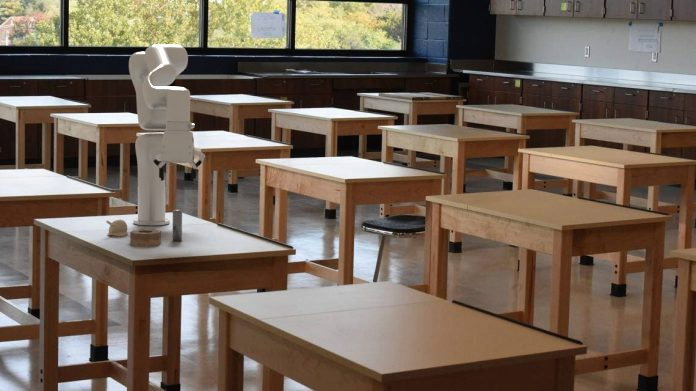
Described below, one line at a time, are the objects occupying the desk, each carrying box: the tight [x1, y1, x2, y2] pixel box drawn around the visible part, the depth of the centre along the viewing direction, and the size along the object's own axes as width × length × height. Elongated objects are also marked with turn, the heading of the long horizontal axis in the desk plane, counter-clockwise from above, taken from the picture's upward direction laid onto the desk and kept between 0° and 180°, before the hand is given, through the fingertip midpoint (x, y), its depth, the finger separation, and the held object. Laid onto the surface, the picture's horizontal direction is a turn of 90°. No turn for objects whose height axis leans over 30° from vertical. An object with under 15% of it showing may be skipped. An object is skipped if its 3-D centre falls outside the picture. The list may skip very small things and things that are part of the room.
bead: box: [129, 228, 162, 248], centre depth 369 cm, size 9×9×4 cm
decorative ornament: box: [105, 219, 129, 237], centre depth 383 cm, size 4×8×5 cm, turn 129°
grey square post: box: [171, 209, 183, 243], centre depth 375 cm, size 3×3×10 cm
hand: (177, 180), depth 373 cm, fingers open, 9 cm apart
